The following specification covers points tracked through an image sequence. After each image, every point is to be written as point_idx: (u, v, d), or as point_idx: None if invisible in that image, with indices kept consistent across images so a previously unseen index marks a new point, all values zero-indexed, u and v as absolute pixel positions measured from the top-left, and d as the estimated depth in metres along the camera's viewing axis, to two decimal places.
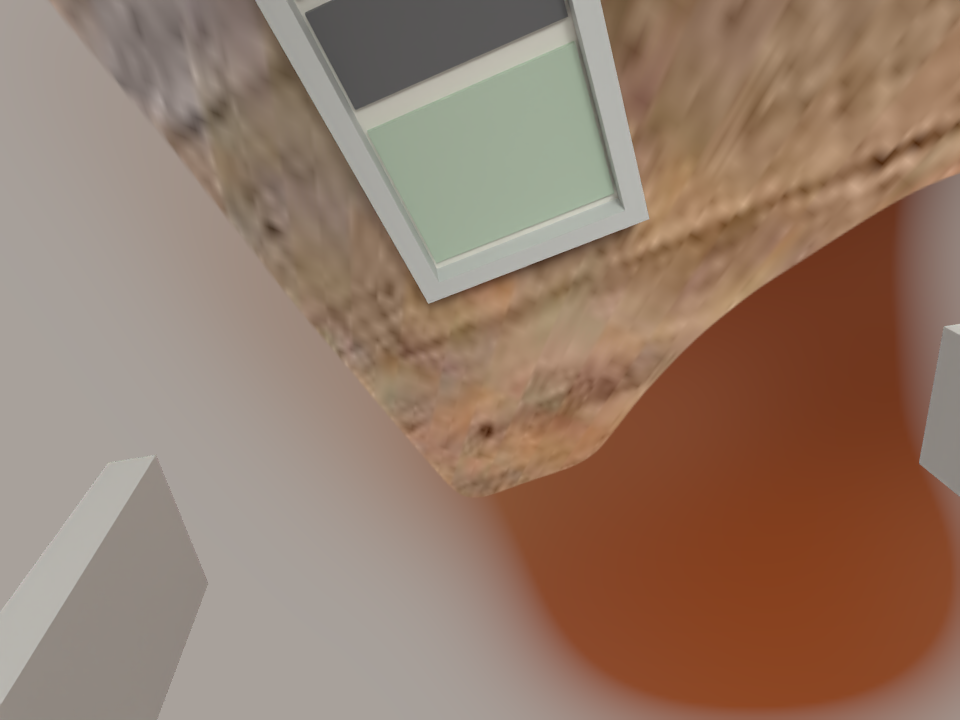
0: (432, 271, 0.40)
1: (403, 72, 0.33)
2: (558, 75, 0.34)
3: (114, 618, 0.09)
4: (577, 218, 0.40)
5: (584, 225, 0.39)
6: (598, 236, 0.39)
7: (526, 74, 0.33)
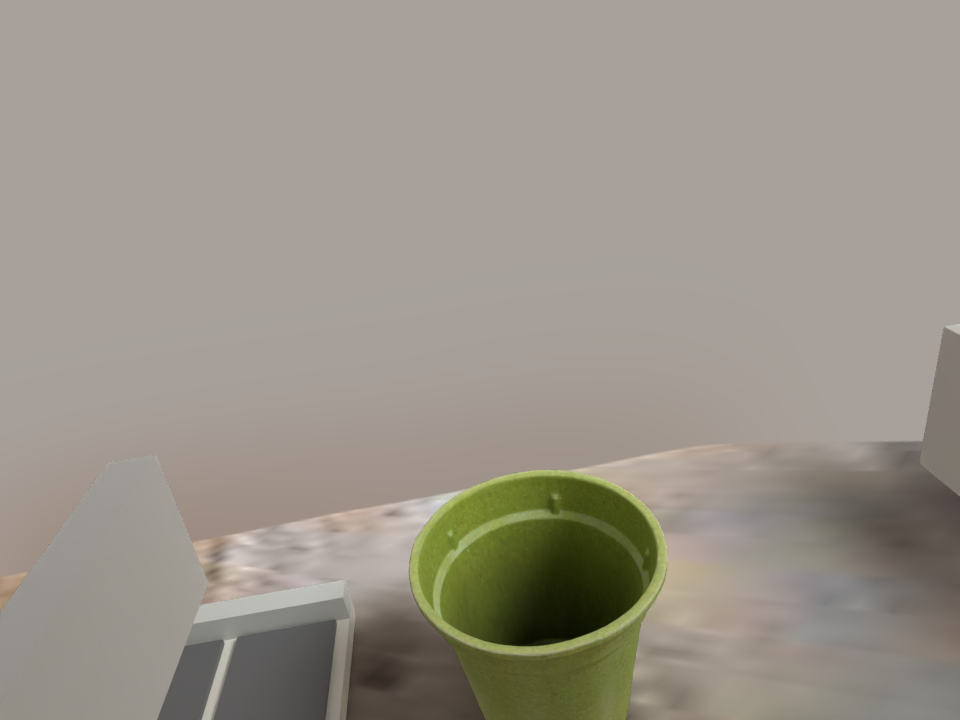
0: None
1: None
2: None
3: (114, 618, 0.09)
4: None
5: None
6: None
7: None
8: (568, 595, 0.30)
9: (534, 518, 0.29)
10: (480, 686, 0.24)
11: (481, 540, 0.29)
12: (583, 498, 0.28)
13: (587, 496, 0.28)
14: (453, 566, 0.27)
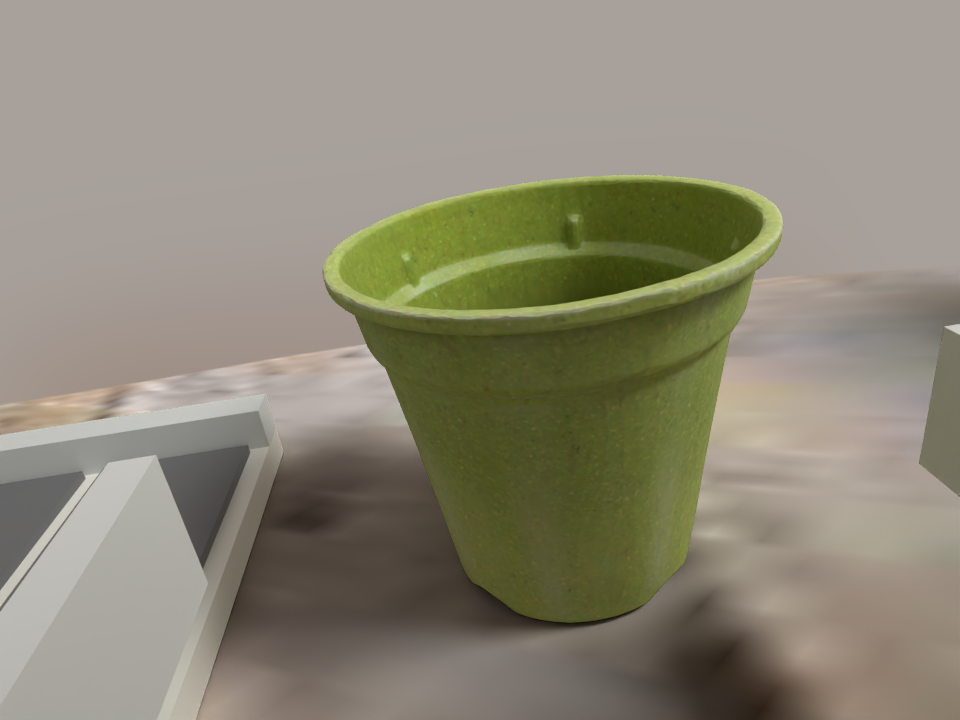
0: None
1: None
2: None
3: (114, 618, 0.09)
4: None
5: None
6: None
7: None
8: None
9: (540, 259, 0.19)
10: (444, 460, 0.14)
11: (458, 285, 0.18)
12: (618, 215, 0.18)
13: (625, 207, 0.18)
14: None
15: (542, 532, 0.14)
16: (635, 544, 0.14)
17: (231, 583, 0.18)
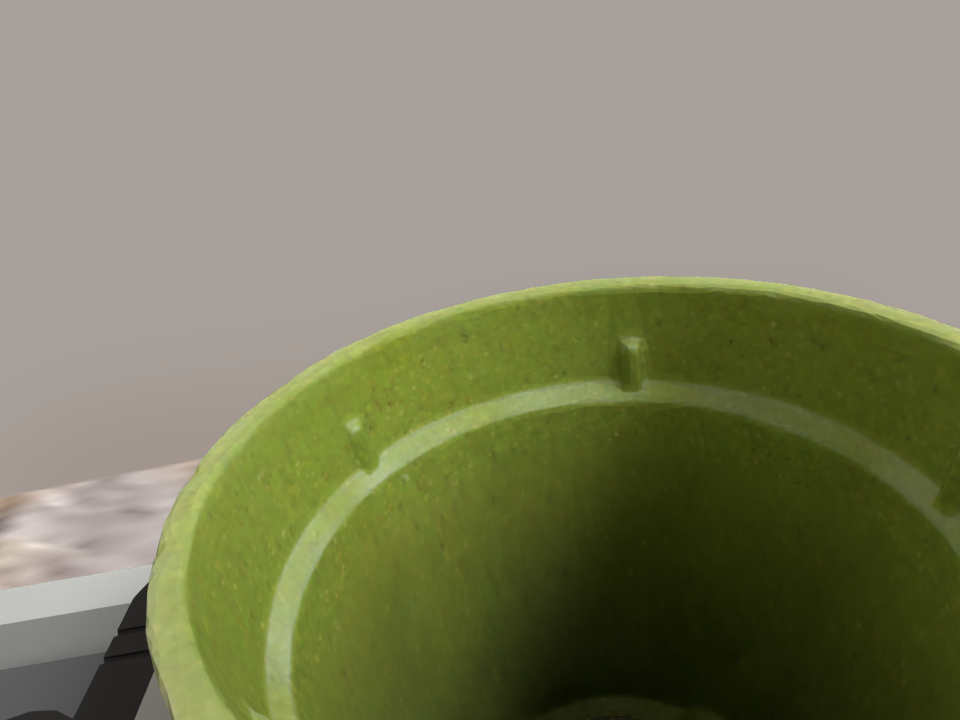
0: None
1: None
2: None
3: None
4: None
5: None
6: None
7: None
8: (654, 596, 0.13)
9: (576, 405, 0.12)
10: None
11: (445, 454, 0.11)
12: (707, 342, 0.11)
13: (720, 332, 0.11)
14: (359, 514, 0.10)
15: None
16: None
17: None
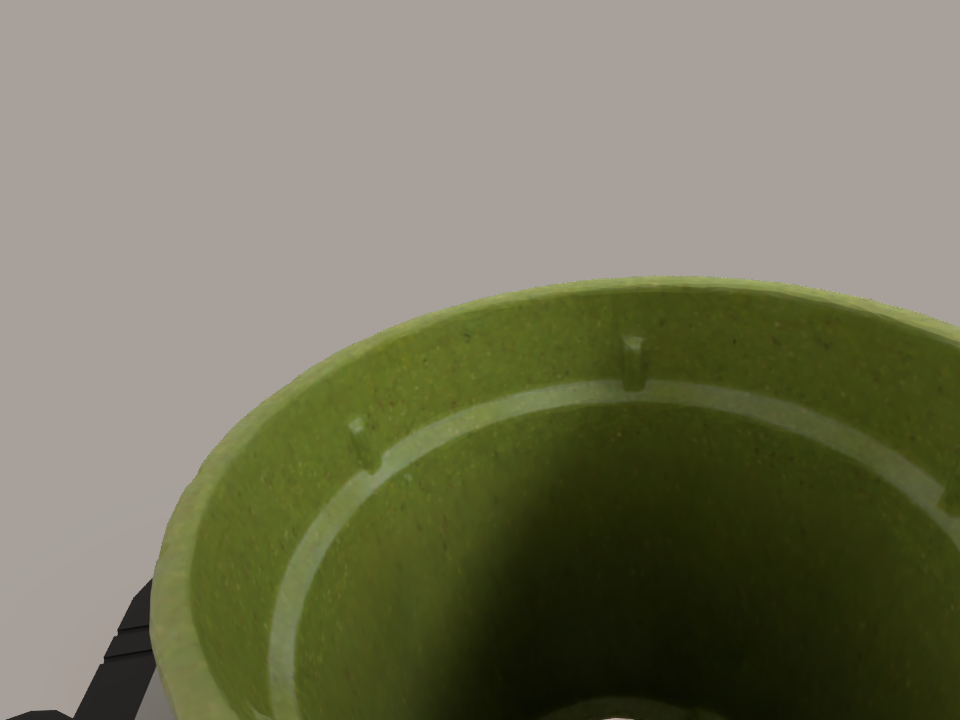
0: None
1: None
2: None
3: None
4: None
5: None
6: None
7: None
8: (657, 596, 0.13)
9: (579, 405, 0.12)
10: None
11: (447, 455, 0.11)
12: (710, 342, 0.11)
13: (723, 332, 0.11)
14: (361, 514, 0.10)
15: None
16: None
17: None
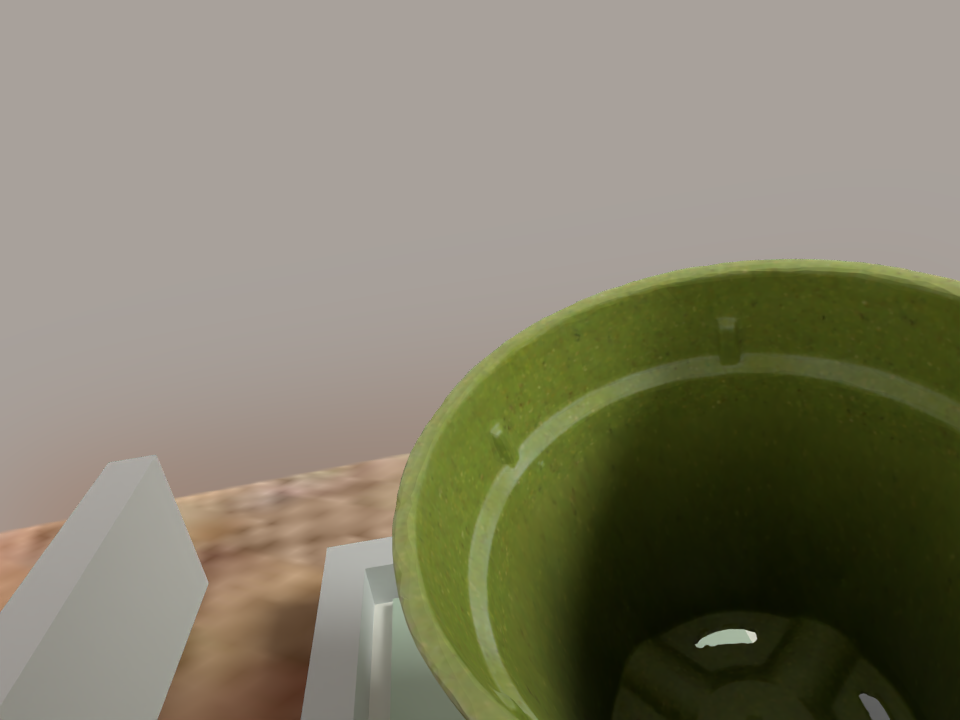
0: None
1: None
2: None
3: (114, 618, 0.09)
4: None
5: None
6: None
7: None
8: (759, 530, 0.14)
9: (680, 380, 0.13)
10: None
11: (569, 437, 0.13)
12: (800, 317, 0.12)
13: (812, 310, 0.12)
14: (511, 503, 0.12)
15: None
16: None
17: None
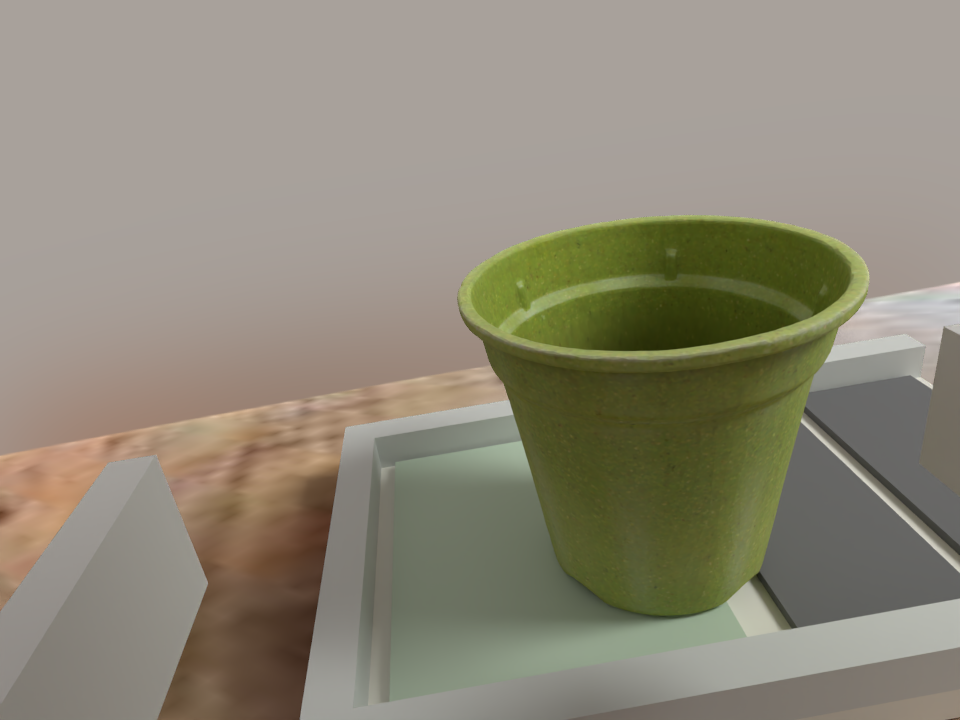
0: (397, 435, 0.26)
1: None
2: (693, 628, 0.17)
3: (114, 618, 0.09)
4: (367, 644, 0.18)
5: (359, 626, 0.17)
6: (315, 650, 0.17)
7: None
8: None
9: (639, 288, 0.21)
10: (553, 467, 0.16)
11: (563, 309, 0.21)
12: (713, 252, 0.20)
13: (720, 246, 0.19)
14: (521, 329, 0.19)
15: (635, 535, 0.16)
16: (717, 552, 0.16)
17: None
